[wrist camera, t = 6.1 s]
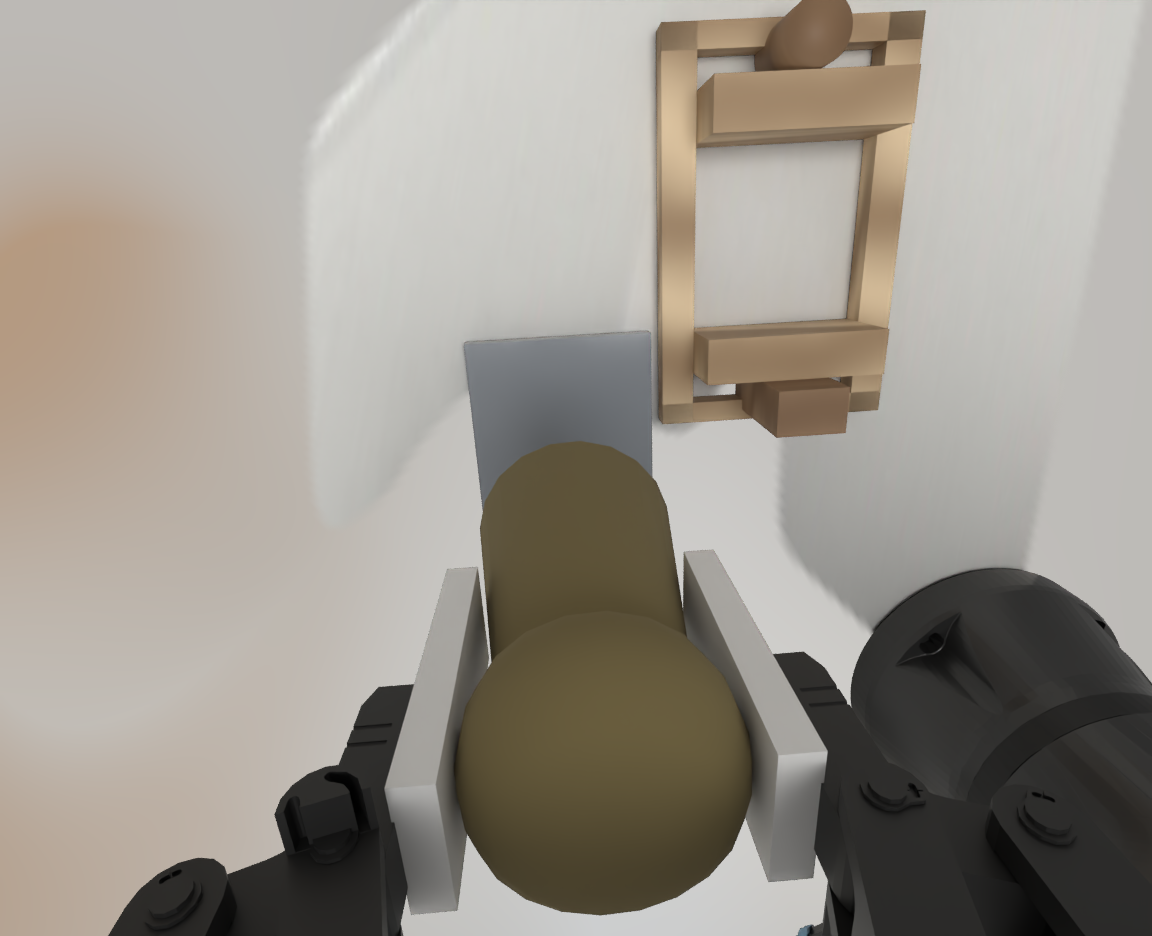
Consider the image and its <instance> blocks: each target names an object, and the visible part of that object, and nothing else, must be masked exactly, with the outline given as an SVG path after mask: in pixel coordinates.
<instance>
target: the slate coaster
mask: <svg viewBox="0 0 1152 936" xmlns="http://www.w3.org/2000/svg"><path fill="white" fill-rule="evenodd" d="M464 351H465V360H466V369H467V377H468V386H469V395H470V403H471V412H472V421H473V429H474V438H475V447H476V456H477V464H478V473H479V482H480V490H481V499H482V507H483V509H484V503H485V500H486V498H487V497H488V495H489V493H490V491H491V490H492V488H493V486H494V485H495V483H496V481H497V479H498V478H499V476H500V475H501V474H502V473H504V472H505V471H506V470H507V469H508V468H509V467H510V466H512V465H513V464H514V463H515V462H516V461H517V460H518V459H519V458H521V457H522V456H524V455H526V454H529V453H531V452H533V451H536V450H538V449H540V448H542V447H545V446H547V445H549V444H557V443H566V442H574V441H584V442H590V443H595V444H600V445H605V446H611V447H613V448H614V449H616V450H618V451H620V452H622V453H624V454H625V455H627V456H629V457H631V458H633V459H635V460H636V461H638V463H639V464H640V465H641V466H642V467H643V468H644V469H645V470H646V471H647V472H648V473H649V474H650V476H651V477H652V401H651V333H650V332H649V331H637V332H621V333H604V334H588V335H572V336H555V337H539V338H523V339H506V340H490V341H474V342H465V343H464Z"/></svg>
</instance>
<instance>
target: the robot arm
mask: <svg viewBox="0 0 1152 936" xmlns="http://www.w3.org/2000/svg"><path fill="white" fill-rule="evenodd" d="M683 594H684V595H683V614H684V620H685V627H686V633H687V638H688V639H689V640H690V641H691V642H692V643H693V644H694V645H695V646H696V647H697V648H698V649H699V650H700V651H701V652H702V653H703V654H704V655H705V656H706V657H707V658H708V659H709V660H710V661H711V663H712V664H713V665H714V666H715V667H716V668H717V669H718V670H719V671H720V672H721V673H722V674H723V676H724V677H725V679H726V682H727V684H728V686H729V688H730V691H731V693H732V695H733V697H734V699H735V702H736V704H737V706H738V709H739V711H740V713H741V715H742V718H743V720H744V722H745V725H746V727H747V729H748V732H749V736H750V746H751V756H752V796H751V800H750V803H749V806H748V810H747V813H746V816H745V818H746V820H747V823H748V826H749V829H750V832H751V835H752V837H753V840H754V843H755V846H756V849H757V851H758V854H759V857H760V860H761V862H762V865H763V868H764V871H765V874H766V877H767V879H768V882H775V881H785V880H797V879H808V878H813V874H814V866H815V858H816V855H817V856H818V859H819V861H820V863H821V866H822V868H823V870H824V872H825V875H826V877H827V879H828V885H827V893H826V901H825V909H824V918H823V923H821V924H819V925H817V926H815V927H814V926H813V925H808V926H805V927H804V928H800V930H799V932H798V935H797V936H1152V683H1151V682H1150V681H1149V679H1148V678H1147V677H1146V676H1145V674H1144V673H1143V672H1142V671H1141V669H1140V668H1139V667H1138V666H1137V665H1136V664H1135V662H1134V661H1133V660H1132V659H1131V658H1130V657H1129V656H1128V655H1127V654H1126V653H1125V652H1123V651H1122V650H1121V648H1120V647H1119V644H1118V641H1117V639H1116V637H1115V635H1114V634H1113V632H1112V630H1111V629H1110V627H1109V626H1108V625H1107V624H1106V622H1105V621H1104V619H1103V618H1102V617H1101V616H1100V615H1099V614H1098V613H1097V612H1096V611H1095V610H1094V609H1092V608H1091V607H1090V606H1089V605H1088V604H1087V603H1085V602H1084V601H1082V600H1081V599H1079V598H1078V597H1076V596H1075V595H1073V594H1072V593H1070V592H1069V591H1067V590H1066V589H1064V588H1062V587H1061V586H1060V585H1058V584H1056V583H1055V582H1053V581H1051V580H1049V579H1047V578H1045V577H1042V576H1040V575H1037V574H1034V573H1030V572H1026V571H1021V570H1013V569H989V570H980V571H975V572H970V573H966V574H962V575H958V576H955V577H952V578H949V579H946V580H944V581H941V582H939V583H937V584H934V585H932V586H931V587H929V588H927V589H925V590H923V591H921V592H920V593H918V594H916V595H915V596H913V597H912V598H910V599H909V600H907V601H906V602H905V603H903V604H902V605H901V606H899V607H898V608H897V609H896V610H895V611H893V612H892V613H891V614H890V615H889V616H888V617H887V618H886V619H885V620H884V621H883V622H882V623H881V624H880V626H879V627H878V628H877V629H876V631H875V632H874V633H873V634H872V636H871V637H870V639H869V640H868V642H867V643H866V645H865V647H864V649H863V650H862V652H861V654H860V656H859V659H858V661H857V664H856V667H855V670H854V673H853V677H852V684H851V706H852V708H851V706H850V705H847V701H846V699H845V698H844V696H843V695H842V693H841V691H840V690H839V689H837V687H836V684H835V683H834V681H833V680H832V678H831V677H830V675H829V674H828V672H827V671H826V669H825V668H824V667H823V666H822V665H821V664H819V663H818V662H817V661H815V660H814V659H813V658H811V657H810V656H808V655H807V654H806V653H805V652H794V653H782V654H772V652H771V650H770V649H769V647H768V645H767V643H766V641H765V640H764V638H763V636H762V634H761V633H760V631H759V629H758V627H757V626H756V624H755V622H754V620H753V618H752V617H751V615H750V613H749V612H748V610H747V608H746V606H745V604H744V603H743V601H742V599H741V597H740V596H739V594H738V592H737V590H736V588H735V587H734V585H733V583H732V581H731V580H730V578H729V576H728V575H727V573H726V571H725V569H724V567H723V565H722V564H721V562H720V560H719V558H718V557H717V555H716V553H715V551H714V550H701V551H688V552H684V582H683ZM488 660H489V655H488V647H487V639H486V631H485V623H484V615H483V606H482V598H481V590H480V582H479V574H478V567H469V568H455V569H447V572H446V575H445V579H444V582H443V585H442V589H441V593H440V596H439V599H438V603H437V607H436V610H435V613H434V617H433V620H432V624H431V627H430V631H429V634H428V638H427V641H426V645H425V649H424V652H423V655H422V659H421V662H420V666H419V669H418V673H417V676H416V680H415V684H412V685H399V686H387V687H378V688H377V689H376V691H375V692H374V693H373V694H372V695H371V696H370V697H369V698H368V699H367V700H366V701H365V703H364V704H363V705H362V706H361V709H360V711H359V714H358V716H357V719H356V721H355V724H354V730H352V732H351V734H350V737H349V740H348V742H347V748H345V750H344V753H343V755H342V758H341V760H340V763H339V765H336V766H328V767H324V768H322V769H319V770H317V771H314V772H312V773H309V774H307V775H306V776H305V777H303V778H302V779H300V780H299V781H298V782H296V783H295V784H294V785H292V786H291V787H290V789H289V790H288V791H287V792H286V793H285V795H284V796H283V797H282V798H281V799H280V802H279V804H278V807H277V809H276V812H275V818H276V821H277V825H278V828H279V831H280V835H281V838H282V841H283V845H284V848H285V851H283V852H282V853H280V854H278V855H276V856H274V857H272V858H270V859H267V860H265V861H262V862H260V863H257V864H254V865H252V866H249V867H246V868H244V869H241V870H238V871H236V872H233V873H230V874H227V873H226V870H225V867H224V866H223V865H221V864H220V863H219V862H217V861H216V860H214V859H207V858H195V859H191V860H188V861H184V862H181V863H178V864H176V865H174V866H172V867H170V868H168V869H166V870H165V871H163V872H161V873H159V874H158V875H156V876H155V877H154V878H153V879H152V880H150V881H149V882H148V883H147V884H146V885H144V886H143V887H142V888H141V889H140V890H139V891H138V892H137V893H136V895H135V896H134V897H133V898H132V900H131V901H130V902H129V904H128V905H127V906H126V908H125V909H124V911H123V912H122V914H121V916H120V917H119V919H118V920H117V922H116V924H115V925H114V927H113V929H112V931H111V932H110V934H109V935H108V936H403V933H402V928H401V919H402V914H403V909H404V904H405V900H406V895H407V898H408V902H409V907H410V912H411V915H414V914H424V913H436V912H447V911H457V910H458V902H459V894H460V886H461V878H462V870H463V862H464V854H465V846H466V838H467V833H466V831H465V828H464V824H463V820H462V815H461V811H460V806H459V802H458V797H457V791H456V784H455V776H454V764H455V758H456V753H457V747H458V742H459V737H460V732H461V726H462V721H463V716H464V711H465V707H466V705H467V703H468V701H469V699H470V698H471V696H472V694H473V692H474V690H475V688H476V687H477V685H478V683H479V682H480V680H481V679H482V677H483V676H484V674H485V672H486V671H487V668H488Z"/></svg>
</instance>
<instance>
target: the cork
mask: <svg viewBox="0 0 1152 936" xmlns="http://www.w3.org/2000/svg"><path fill="white" fill-rule="evenodd" d="M480 534H481V545H482V557H483V569H484V579H485V592H486V602H487V603H486V604H487V615H488V627H489V638H490V649H491V661H492V663H491V665H490V666H489V668H488V669H487V671H486V672H485V674H484V676H483V677H482V679H481V680H480V682H479V683H478V685H477V687H476V688H475V690H474V692H473V694H472V696H471V698H470V699H469V701H468V703H467V705H466V707H465V711H464V716H463V721H462V726H461V732H460V737H459V742H458V747H457V753H456V758H455V764H454V776H455V784H456V791H457V797H458V802H459V806H460V811H461V815H462V820H463V824H464V828H465V831H466V833H467V834H468V836H469V838H470V839H471V841H472V843H473V845H474V846H475V848H476V850H477V851H478V853H479V854H480V856H481V857H482V858H483V860H484V861H485V863H486V864H487V865H488V867H489V868H490V870H491V871H492V873H493V874H494V875H495V877H496V878H497V879H498V880H499V881H501V882H502V883H504V884H505V885H506V886H508V887H509V888H511V889H512V890H514V891H515V892H516V893H518V894H519V895H520V896H522V897H523V898H525V899H526V900H529V901H532V902H535V903H538V904H541V905H544V906H547V907H549V908H553V909H555V910H559V911H561V912H571V913H581V914H592V915H607V914H615V913H623V912H631V911H638V910H642V909H645V908H648V907H651V906H653V905H656V904H659V903H662V902H665V901H667V900H670V899H673V898H676V897H678V896H680V895H681V894H683V893H684V892H686V891H687V890H689V889H690V888H692V887H693V886H695V885H696V884H698V883H700V882H701V881H703V880H704V879H706V878H707V877H709V876H710V874H711V873H712V872H713V871H714V870H715V869H716V868H717V866H718V865H719V864H720V863H721V862H722V861H723V860H724V859H725V857H726V856H727V855H728V854H729V853H730V852H731V851H732V849H733V846H734V844H735V841H736V839H737V837H738V834H739V832H740V829H741V827H742V824H743V822H744V819H745V816H746V813H747V810H748V806H749V803H750V800H751V796H752V756H751V746H750V736H749V732H748V729H747V727H746V725H745V722H744V720H743V718H742V715H741V713H740V711H739V709H738V706H737V704H736V702H735V699H734V697H733V695H732V693H731V691H730V688H729V686H728V684H727V682H726V679H725V677H724V676H723V674H722V673H721V672H720V671H719V670H718V669H717V668H716V667H715V666H714V665H713V664H712V663H711V661H710V660H709V659H708V658H707V657H706V656H705V655H704V654H703V653H702V652H701V651H700V650H699V649H698V648H697V647H696V646H695V645H694V644H693V643H692V642H691V641H690V640H689V639H688V638H687V633H686V627H685V620H684V614H683V608H682V601H681V595H680V589H679V582H678V575H677V569H676V563H675V557H674V550H673V544H672V537H671V531H670V524H669V518H668V512H667V506H666V504H665V501H664V499H663V497H662V495H661V492H660V490H659V487H658V485H657V483H656V481H655V480H654V479H653V478H652V477H651V476H650V474H649V473H648V472H647V471H646V470H645V469H644V468H643V467H642V466H641V465H640V464H639V463H638V461H636V460H635V459H633V458H631V457H629V456H627V455H625V454H624V453H622V452H620V451H618V450H616V449H614V448H613V447H611V446H605V445H600V444H595V443H590V442H584V441H574V442H566V443H557V444H549V445H547V446H545V447H542V448H540V449H538V450H536V451H533V452H531V453H529V454H526V455H524V456H522V457H521V458H519V459H518V460H517V461H516V462H515V463H514V464H513V465H512V466H510V467H509V468H508V469H507V470H506V471H505V472H504V473H502V474H501V475H500V476H499V478H498V479H497V481H496V483H495V485H494V486H493V488H492V490H491V491H490V493H489V495H488V497H487V498H486V500H485V503H484V509H483V515H482V520H481V526H480Z"/></svg>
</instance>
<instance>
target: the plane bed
mask: <svg viewBox="0 0 1152 936" xmlns="http://www.w3.org/2000/svg"><path fill="white" fill-rule="evenodd" d="M925 13H926V10H923V11H901V12H879V13H857V14H852V12H851V9H850V6H849V4H848V3H847V1H846V0H802V1H801V2H800V3H799V4H798V5H797V6H795V7H794V8H793V9H792V10H791V11H790V12H789V13H788V14H787V15H786V16H785V17H768V18H746V19H724V20H701V21H679V22H661V24H660V25H659V27H658V29H657V31H656V102H657V247H658V393H659V419H660V421H661V422H662V424H675V423H690V422H705V421H720V420H734V419H749V418H753V419H754V420H756V421H757V422H758V423H759V424H761V425H762V426H763V427H764V428H765V429H767V430H768V431H769V432H770V433H772V434H773V435H774V436H775V437H776V438H779V437H793V436H808V435H823V434H838V433H846V424H847V414H848V412H856V411H871V410H878V406H879V398H880V389H881V381H882V374H884V368H885V360H886V352H887V343H888V335H889V329H888V322H889V314H890V306H891V297H892V289H893V281H894V272H895V264H896V256H897V247H898V239H899V230H900V222H901V214H902V205H903V197H904V189H905V180H906V172H907V164H908V155H909V147H910V139H911V130H912V123H914V119H915V111H916V103H917V94H918V86H919V78H920V69H921V64H919V63H920V55H921V47H922V38H923V30H924V22H925ZM866 49H873V51H872V61H871V66H865V67H844V68H823V67H824V66H826V65H827V64H829V63H831V62H832V61H834V60H835V59H836V58H838V57H839V56H840V55H841V54H842V52H843V51H845V50H866ZM738 55H755V70H756V72H740V73H719V74H714V75H713V76H712V77H711V78H710V79H709V80H708V81H707V82H706V83H705V84H704V85H702V86H701V87H700V88H699V89H698V90H697V57H717V56H738ZM821 68H823V69H821ZM859 139H864V144H863V155H862V165H861V175H860V186H859V196H858V206H857V217H856V227H855V237H854V248H853V258H852V268H851V279H850V289H849V300H848V310H847V319H833V320H817V321H800V322H784V323H768V324H751V325H735V326H719V327H702V328H694V273H695V195H696V148H705V147H724V146H743V145H763V144H782V143H801V142H821V141H840V140H859ZM693 373H694V374H695V375H696V376H697V377H698V378H700V379H701V380H702V381H703V382H704V383H706V384H707V385H721V384H736V391H735V394H732V395H716V396H700V397H693ZM830 377H841V382H838V381H836V380H833V379H831V378H830Z"/></svg>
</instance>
